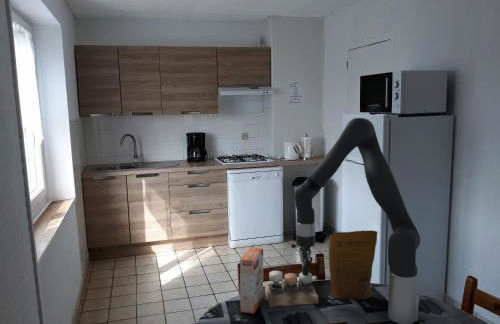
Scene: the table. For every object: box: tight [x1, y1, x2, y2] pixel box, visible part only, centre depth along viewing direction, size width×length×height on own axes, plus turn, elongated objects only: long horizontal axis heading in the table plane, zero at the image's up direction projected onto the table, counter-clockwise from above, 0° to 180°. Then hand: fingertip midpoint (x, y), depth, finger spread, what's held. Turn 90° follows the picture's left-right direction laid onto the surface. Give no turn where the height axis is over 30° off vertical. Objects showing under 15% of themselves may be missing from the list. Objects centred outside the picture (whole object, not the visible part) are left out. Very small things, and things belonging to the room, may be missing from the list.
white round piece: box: [268, 270, 284, 286], centre depth 162 cm, size 5×5×5 cm
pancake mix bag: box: [328, 230, 378, 300], centre depth 161 cm, size 7×19×28 cm, turn 86°
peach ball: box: [283, 272, 298, 287], centre depth 163 cm, size 5×5×5 cm
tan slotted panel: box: [264, 281, 319, 307], centre depth 163 cm, size 19×13×5 cm
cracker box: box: [239, 247, 264, 315], centre depth 157 cm, size 14×6×21 cm, turn 164°
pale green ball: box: [298, 271, 313, 286], centre depth 164 cm, size 5×5×5 cm
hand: (305, 274), depth 163 cm, fingers closed
